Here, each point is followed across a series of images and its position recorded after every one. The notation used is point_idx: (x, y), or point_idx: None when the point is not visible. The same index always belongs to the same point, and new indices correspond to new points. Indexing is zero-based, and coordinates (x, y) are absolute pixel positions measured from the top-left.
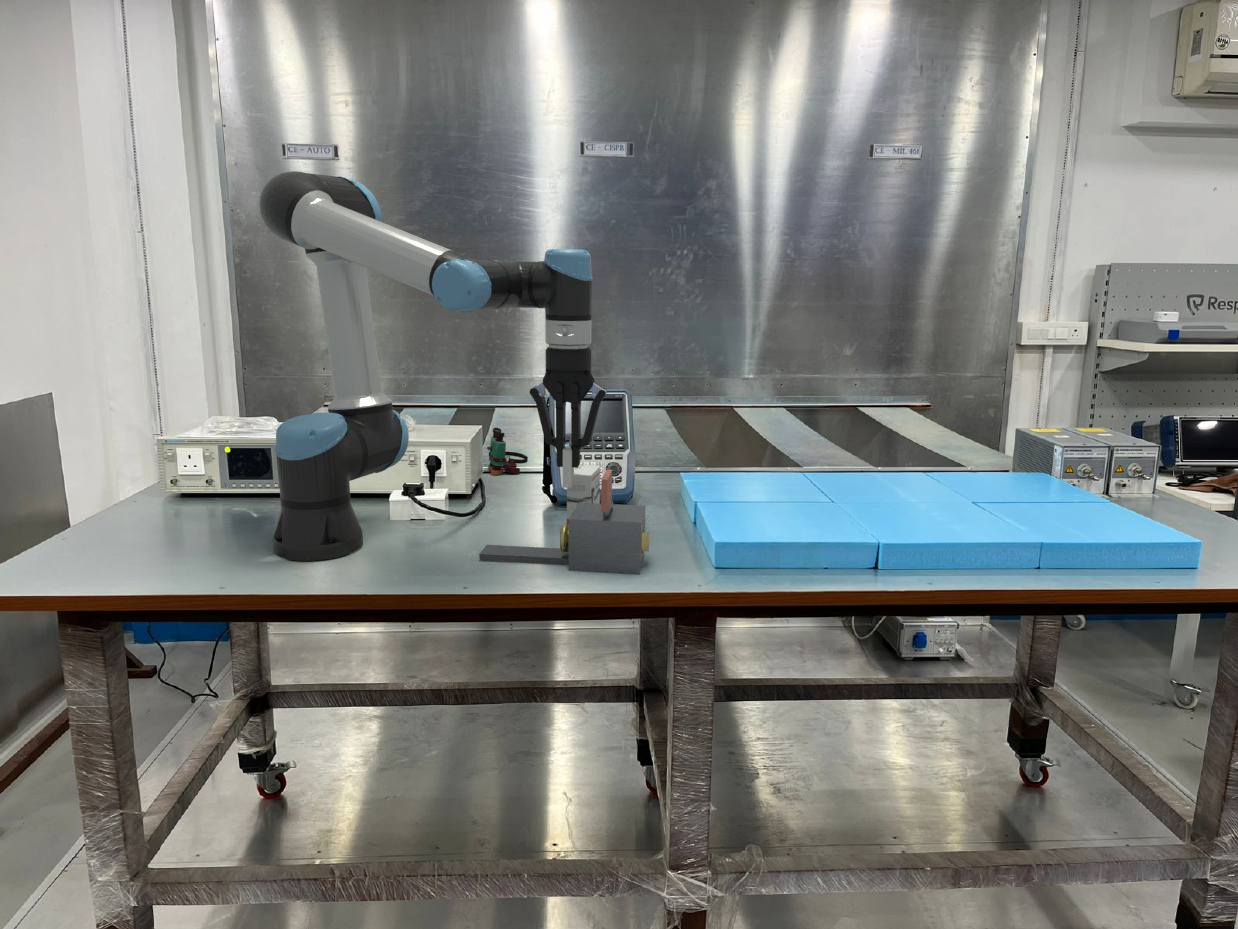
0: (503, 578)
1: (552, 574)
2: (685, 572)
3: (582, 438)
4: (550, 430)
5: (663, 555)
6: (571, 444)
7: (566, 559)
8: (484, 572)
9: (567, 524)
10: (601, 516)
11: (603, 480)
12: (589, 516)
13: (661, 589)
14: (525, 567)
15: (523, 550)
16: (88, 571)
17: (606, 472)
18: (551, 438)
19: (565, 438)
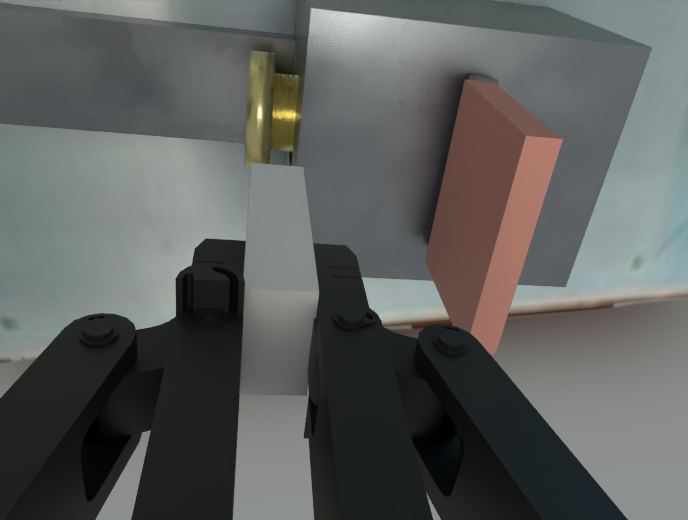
0: (93, 255)
1: (236, 215)
2: (634, 173)
3: (405, 392)
4: (94, 499)
5: (615, 16)
6: (308, 423)
7: None
8: (13, 214)
9: (268, 123)
10: (422, 228)
11: None
12: (372, 232)
13: (534, 292)
14: (135, 163)
15: (91, 68)
16: None
17: (514, 208)
18: (127, 458)
19: (241, 340)
